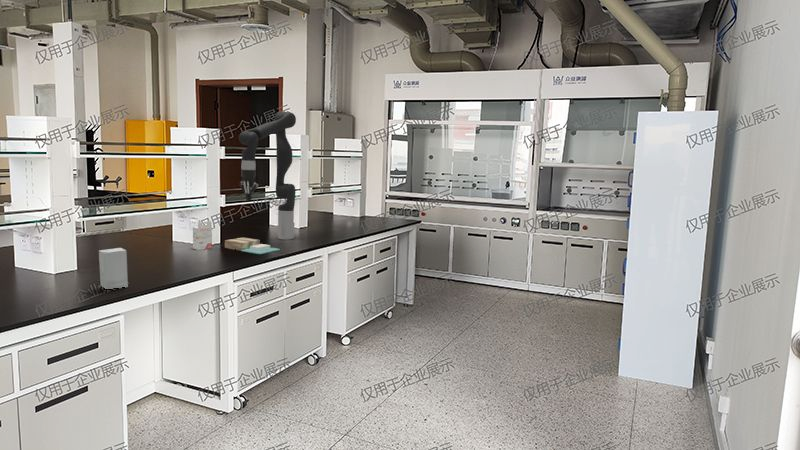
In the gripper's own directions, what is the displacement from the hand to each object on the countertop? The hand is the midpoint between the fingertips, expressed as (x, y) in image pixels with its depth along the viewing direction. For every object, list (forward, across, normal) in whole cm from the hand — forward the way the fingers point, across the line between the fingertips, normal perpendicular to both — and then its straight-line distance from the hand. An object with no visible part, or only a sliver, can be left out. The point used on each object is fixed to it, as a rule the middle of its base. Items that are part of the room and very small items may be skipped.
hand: (248, 200), depth 306 cm
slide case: (+22, -14, +8) cm, 28 cm away
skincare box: (+23, -21, +100) cm, 105 cm away
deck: (+25, -2, +8) cm, 26 cm away
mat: (+25, -15, +8) cm, 30 cm away
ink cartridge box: (+25, +11, +23) cm, 36 cm away
